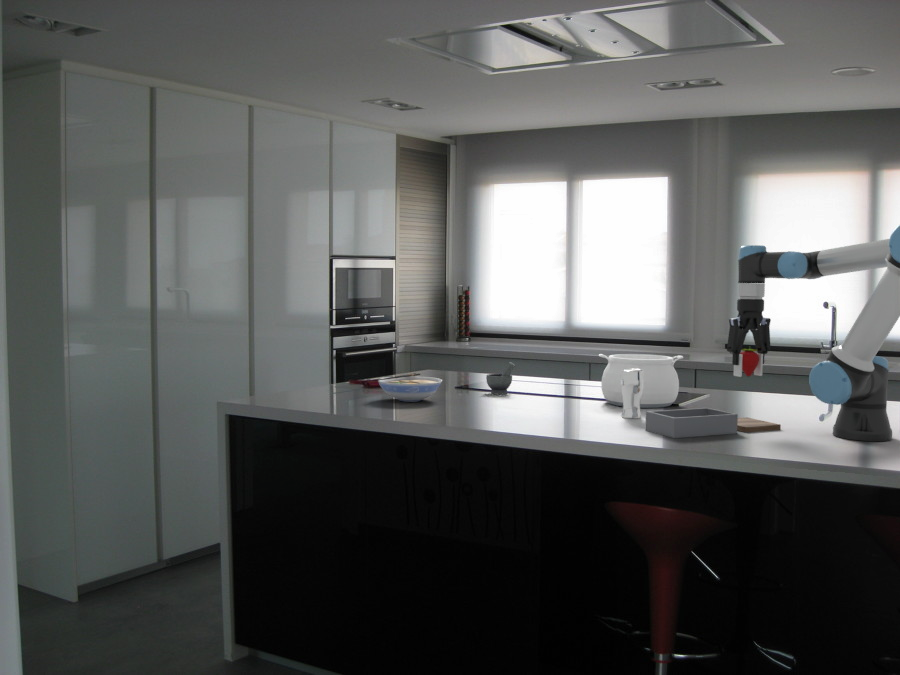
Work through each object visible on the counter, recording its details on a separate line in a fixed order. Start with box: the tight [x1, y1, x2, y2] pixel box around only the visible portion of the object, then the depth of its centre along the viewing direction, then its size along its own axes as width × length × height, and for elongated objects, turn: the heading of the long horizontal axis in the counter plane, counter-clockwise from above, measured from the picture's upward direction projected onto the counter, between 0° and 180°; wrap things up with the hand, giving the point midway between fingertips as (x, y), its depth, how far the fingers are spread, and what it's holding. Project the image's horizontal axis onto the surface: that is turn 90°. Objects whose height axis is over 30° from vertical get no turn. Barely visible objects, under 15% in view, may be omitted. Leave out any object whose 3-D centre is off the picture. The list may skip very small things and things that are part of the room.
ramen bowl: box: [371, 372, 443, 403], centre depth 310 cm, size 25×23×8 cm
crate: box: [645, 407, 739, 439], centre depth 254 cm, size 13×22×6 cm, turn 113°
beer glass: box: [621, 369, 643, 420], centre depth 279 cm, size 7×7×15 cm
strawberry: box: [740, 347, 759, 377], centre depth 262 cm, size 6×8×10 cm
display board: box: [737, 417, 782, 433], centre depth 263 cm, size 14×13×2 cm
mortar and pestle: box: [485, 361, 516, 395], centre depth 332 cm, size 11×9×12 cm
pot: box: [598, 353, 684, 409], centre depth 308 cm, size 29×26×17 cm
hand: (747, 375), depth 262 cm, fingers closed on strawberry, 7 cm apart
